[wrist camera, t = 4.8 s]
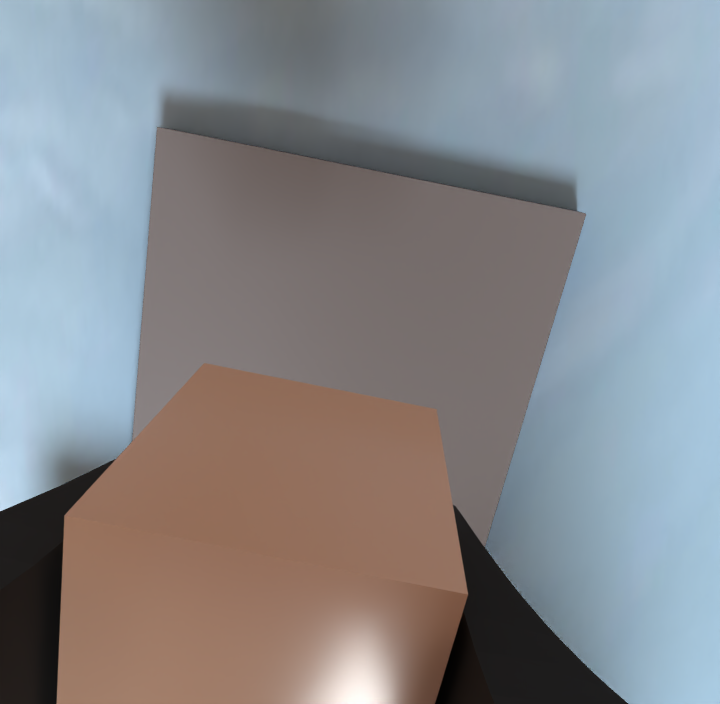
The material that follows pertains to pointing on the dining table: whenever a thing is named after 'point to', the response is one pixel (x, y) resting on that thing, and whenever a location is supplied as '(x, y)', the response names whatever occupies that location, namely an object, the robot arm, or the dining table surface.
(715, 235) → the dining table surface
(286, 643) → the clay block
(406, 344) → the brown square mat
